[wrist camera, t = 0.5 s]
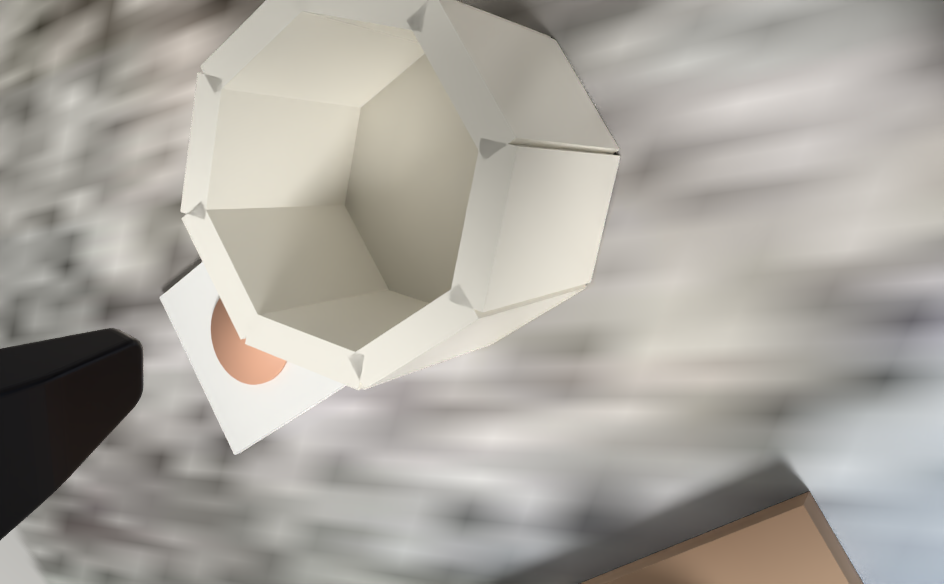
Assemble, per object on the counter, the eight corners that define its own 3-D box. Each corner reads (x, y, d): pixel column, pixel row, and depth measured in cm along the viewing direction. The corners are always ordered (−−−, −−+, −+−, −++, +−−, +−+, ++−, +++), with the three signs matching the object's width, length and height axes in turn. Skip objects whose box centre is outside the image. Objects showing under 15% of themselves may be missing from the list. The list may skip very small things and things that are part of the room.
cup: (670, 237, 21) (582, 254, 16) (424, 384, 25) (288, 436, 20) (508, -41, 22) (375, -111, 17) (298, 140, 26) (137, 128, 21)
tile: (363, 374, 26) (353, 377, 26) (240, 452, 29) (230, 456, 28) (277, 205, 27) (266, 205, 26) (166, 296, 30) (154, 298, 29)
